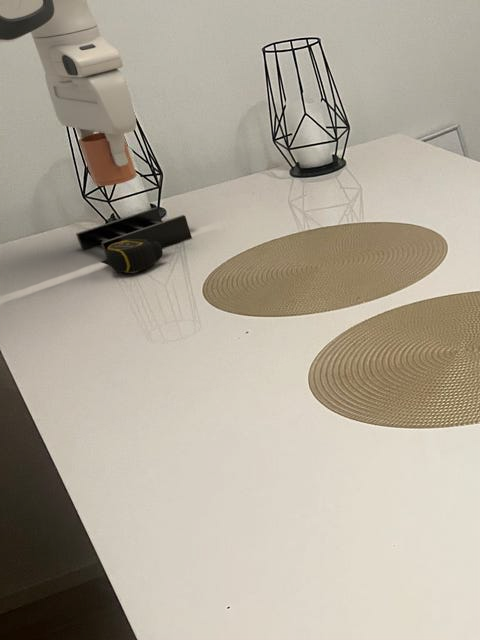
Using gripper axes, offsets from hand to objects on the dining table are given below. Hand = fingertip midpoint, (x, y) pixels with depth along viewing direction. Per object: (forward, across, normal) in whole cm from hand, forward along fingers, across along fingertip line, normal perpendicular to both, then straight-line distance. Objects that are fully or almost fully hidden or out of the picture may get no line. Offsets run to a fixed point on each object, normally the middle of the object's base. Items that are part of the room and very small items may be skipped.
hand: (109, 162), depth 142 cm
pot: (+2, 0, 0) cm, 2 cm away
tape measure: (+12, +10, -5) cm, 17 cm away
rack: (+12, 0, 0) cm, 12 cm away
